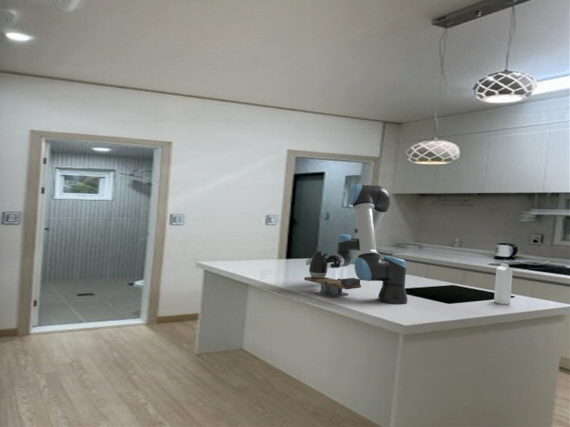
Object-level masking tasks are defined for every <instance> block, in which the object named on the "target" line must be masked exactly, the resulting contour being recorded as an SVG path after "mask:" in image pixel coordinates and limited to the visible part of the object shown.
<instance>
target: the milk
mask: <svg viewBox="0 0 570 427" xmlns="http://www.w3.org/2000/svg"><path fill="white" fill-rule="evenodd" d="M513 272H514V271H513V269H512V268H510V265H509V264H508V263H503V262H501V263H500V265H499V266H498V267H496V269H495V281H494V282H495V284H494V296H493V297H494V298H493V302H494V303H498V304H500V305H511V298H512V287H513V286H512V283H513V274H514V273H513Z"/></svg>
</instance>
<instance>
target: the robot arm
mask: <svg viewBox="0 0 570 427" xmlns="http://www.w3.org/2000/svg"><path fill="white" fill-rule="evenodd" d="M389 194H390V193H389V191H387V189H386V188H385V187H384V186H380V185H374V184H373V185H372V184H371V185H370V184H362V183H360V184H353V185H352V186H351V188H350V189H349V193H348V199H347V200H348V203H349V204H348V205H350V206H352V209H353V211H354V212H356V220H357V221H356V222H357V223H356V224H357V231H358V238H357V237H352V235H350V234H339V235H338V238H337V252H336V253H337V254H332V255H329V256H328V257H325V258H326V262H327V269H338V268H341V267H343V268H344V267H348V266H350V265H351V264H352V262H353V258H352V256H351V251H355V252H356V251H359V252H360V253H359V254H358V255H357V258H355V261H354V272H355V274H356V276H357V279H360V281H366V282H370V281H371V282H382V285H381V288H380V290H379V293H378V295H377V296H378V297H377V300H378V301H380V302H383V303H386V304H387V303H388V304H396V305H397V304H398V305H400V304H401V305H402V304H407V303H408V295H407V290H406V275H407V260H405V259H403V258H399V257H393V256H387V255H384V256H383V258H381V254H380V252H378V251H377V243H376V241H377V240H376V233H377V230H378V229H379V225H380V224H381V221H382V219H383V217H384V215H385V213H387V212H388V211H389V209H390V205H391V196H390V195H389ZM311 260H312V258H309V259H306V260H305V265H306V266H310V263H311Z"/></svg>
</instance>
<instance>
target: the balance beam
mask: <svg viewBox="0 0 570 427" xmlns="http://www.w3.org/2000/svg"><path fill="white" fill-rule="evenodd" d="M340 279H341V280H337V278H336V279H335V278H332V277H331V278H330V277H326V276H325V277H324V278H322V279H317V278H313V277H312V276H305V277H304V281H308V282H312V283H316V284H320V285H321V281H322V280H323V281H327V285H329V286H334V287H338V288H342V290H351V289H360V288H362V284H361V280H360V279H359V278H355V277H348V278H340Z"/></svg>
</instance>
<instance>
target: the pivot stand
mask: <svg viewBox="0 0 570 427" xmlns="http://www.w3.org/2000/svg"><path fill="white" fill-rule="evenodd" d="M341 279H342V278H336V280H341ZM313 294H314V295H317V296H321V297H326V298H330V299H333V298H339V297H340V296H341V297H346V296H349V293H347V292H344V291H343V288H338V287H334V286H329V285H327V281H323V280H322V281H321V284H320V291H314V292H313Z"/></svg>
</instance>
